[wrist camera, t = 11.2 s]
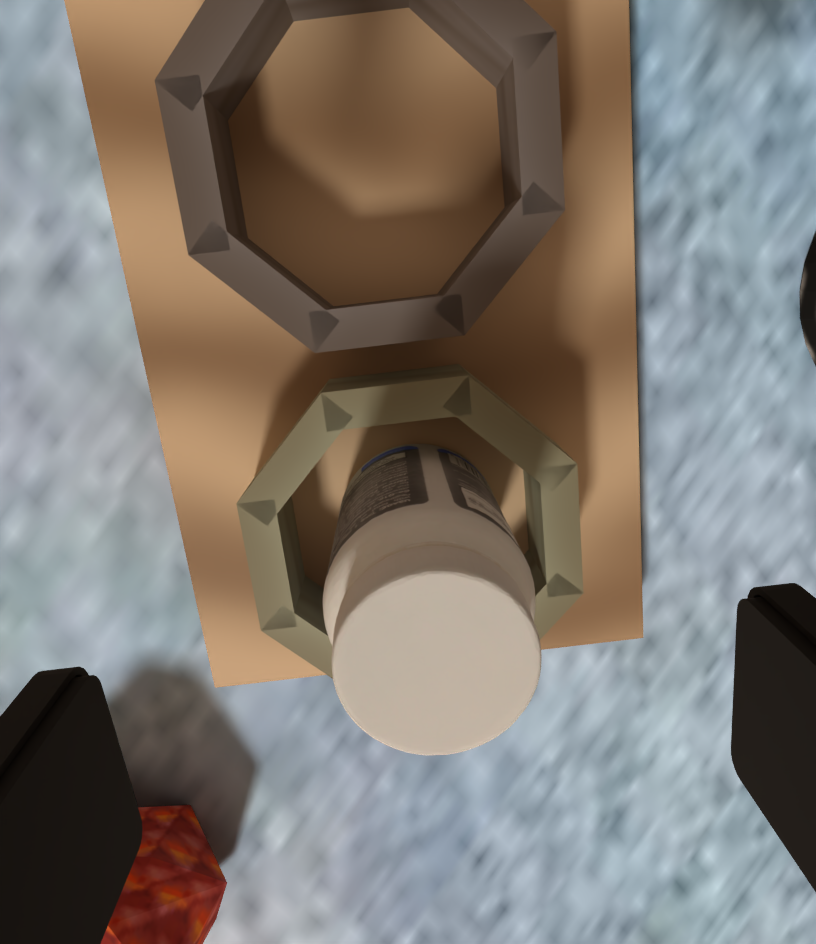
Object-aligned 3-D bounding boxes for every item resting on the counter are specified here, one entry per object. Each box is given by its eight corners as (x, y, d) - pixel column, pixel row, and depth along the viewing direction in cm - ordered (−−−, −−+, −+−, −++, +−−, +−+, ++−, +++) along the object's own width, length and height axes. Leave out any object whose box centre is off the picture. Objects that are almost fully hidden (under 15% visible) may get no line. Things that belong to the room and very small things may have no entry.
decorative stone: (122, 849, 28) (25, 754, 23) (276, 849, 27) (209, 749, 22) (53, 1045, 24) (-89, 979, 19) (236, 1053, 23) (139, 986, 18)
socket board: (85, 3, 18) (4, -72, 14) (607, -60, 18) (666, -152, 14) (225, 662, 24) (193, 737, 20) (627, 615, 24) (674, 681, 20)
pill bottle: (339, 584, 21) (307, 772, 13) (341, 437, 20) (307, 547, 12) (490, 589, 21) (549, 777, 13) (502, 443, 20) (576, 555, 12)
